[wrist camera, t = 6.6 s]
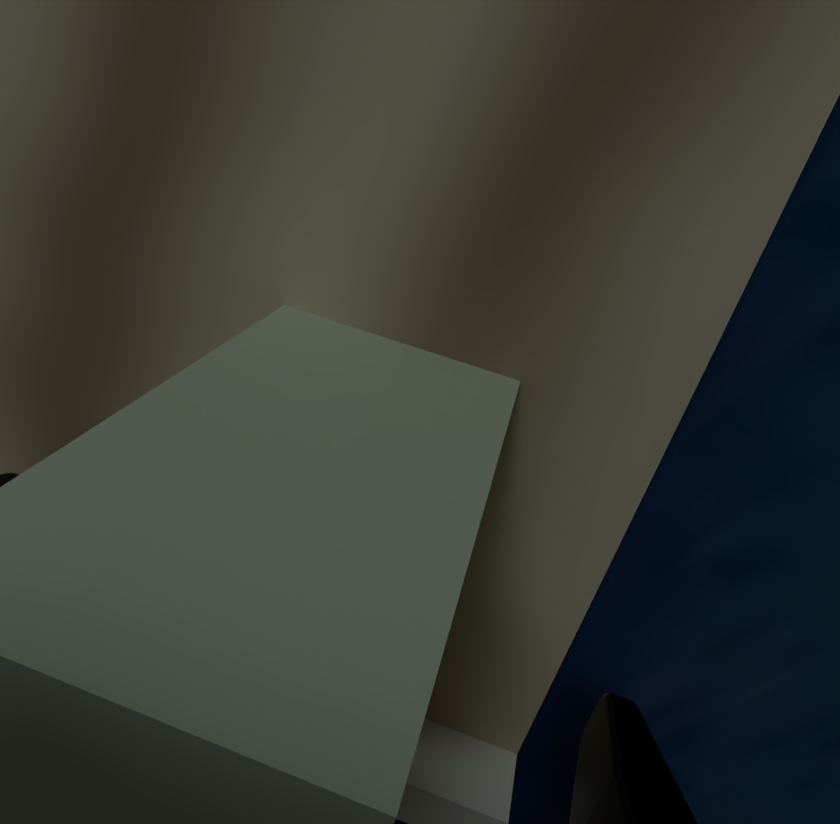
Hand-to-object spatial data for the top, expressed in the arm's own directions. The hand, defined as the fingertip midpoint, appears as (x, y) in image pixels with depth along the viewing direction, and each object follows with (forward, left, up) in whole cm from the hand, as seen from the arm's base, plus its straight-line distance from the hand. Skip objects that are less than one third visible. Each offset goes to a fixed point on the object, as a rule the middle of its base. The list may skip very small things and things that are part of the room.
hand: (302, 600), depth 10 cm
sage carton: (0, 0, -3) cm, 3 cm away
